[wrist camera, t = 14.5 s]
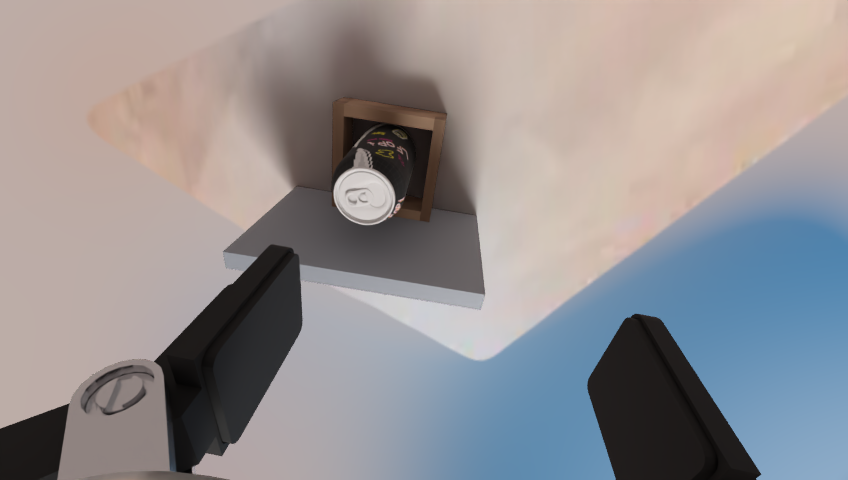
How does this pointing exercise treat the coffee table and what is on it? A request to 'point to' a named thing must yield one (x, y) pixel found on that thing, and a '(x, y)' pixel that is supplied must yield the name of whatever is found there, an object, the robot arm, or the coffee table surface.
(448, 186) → the coffee table surface
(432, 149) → the brown wooden open box
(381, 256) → the wall board
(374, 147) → the beverage can
